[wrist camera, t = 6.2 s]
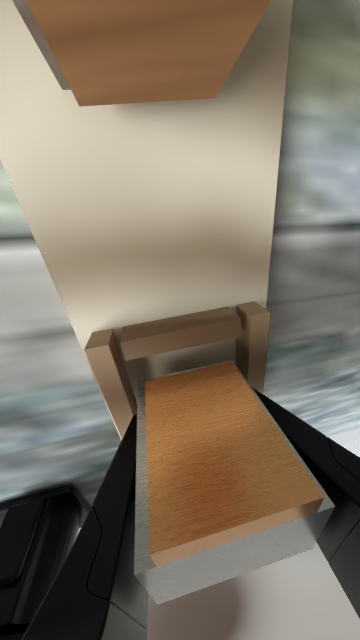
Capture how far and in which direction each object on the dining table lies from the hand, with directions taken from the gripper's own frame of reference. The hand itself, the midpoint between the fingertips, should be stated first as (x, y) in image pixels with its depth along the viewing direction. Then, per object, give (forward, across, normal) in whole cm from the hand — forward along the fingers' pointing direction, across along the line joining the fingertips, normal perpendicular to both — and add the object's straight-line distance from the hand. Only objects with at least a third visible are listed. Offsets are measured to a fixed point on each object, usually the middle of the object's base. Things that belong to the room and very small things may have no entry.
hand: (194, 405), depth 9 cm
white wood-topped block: (+1, 0, 0) cm, 1 cm away
